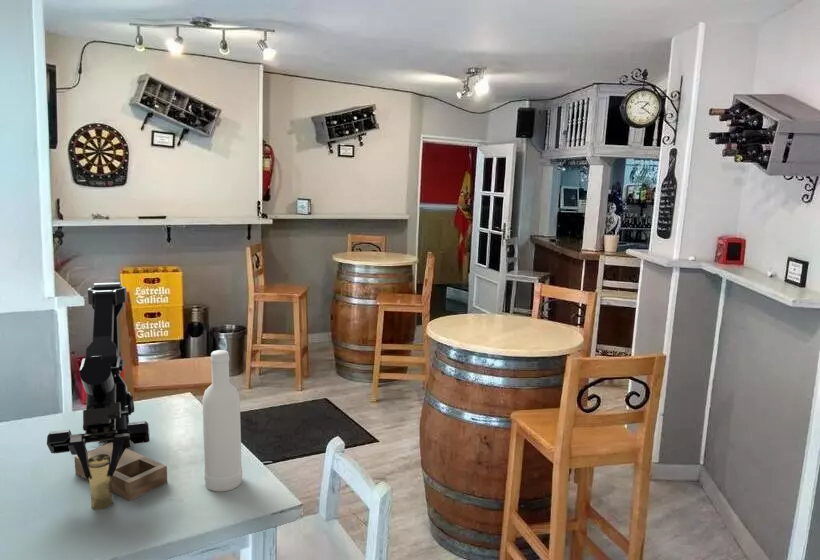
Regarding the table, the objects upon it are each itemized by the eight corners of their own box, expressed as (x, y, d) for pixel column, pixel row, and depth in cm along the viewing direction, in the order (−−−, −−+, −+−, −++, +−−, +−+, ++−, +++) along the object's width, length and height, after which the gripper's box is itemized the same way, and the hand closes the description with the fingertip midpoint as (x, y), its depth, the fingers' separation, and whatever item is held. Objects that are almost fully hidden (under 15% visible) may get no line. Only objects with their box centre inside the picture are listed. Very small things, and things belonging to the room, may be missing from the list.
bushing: (105, 496, 132) (102, 452, 130) (117, 502, 130) (114, 457, 128) (86, 505, 128) (83, 459, 126) (98, 511, 126) (95, 465, 124)
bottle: (208, 495, 133) (203, 359, 128) (201, 478, 140) (196, 349, 135) (246, 487, 137) (243, 355, 131) (238, 471, 144) (234, 345, 138)
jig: (112, 457, 148) (111, 442, 148) (167, 482, 138) (166, 465, 137) (75, 473, 141) (74, 456, 140) (130, 500, 131) (129, 482, 130)
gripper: (44, 394, 125) (38, 471, 117) (146, 384, 131) (147, 457, 123) (54, 416, 134) (49, 489, 126) (149, 406, 140) (150, 475, 132)
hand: (99, 477), depth 126 cm, fingers closed on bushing, 4 cm apart
